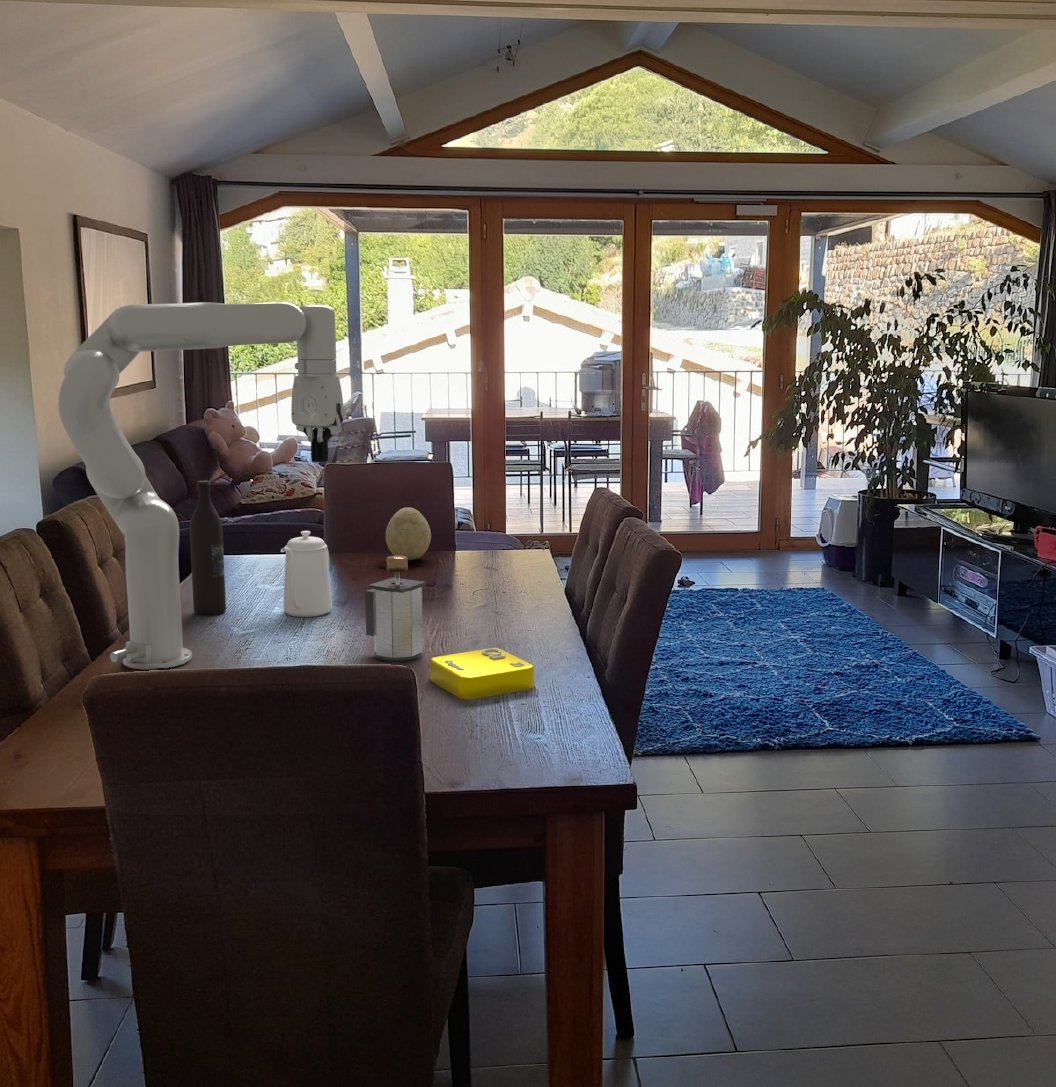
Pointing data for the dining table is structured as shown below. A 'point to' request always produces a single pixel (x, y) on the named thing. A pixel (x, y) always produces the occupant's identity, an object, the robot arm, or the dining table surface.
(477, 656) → the element tile
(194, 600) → the wine bottle
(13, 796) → the dining table surface
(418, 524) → the fossilized egg
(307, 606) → the coffeepot
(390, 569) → the plunger
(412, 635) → the grey faceted container
